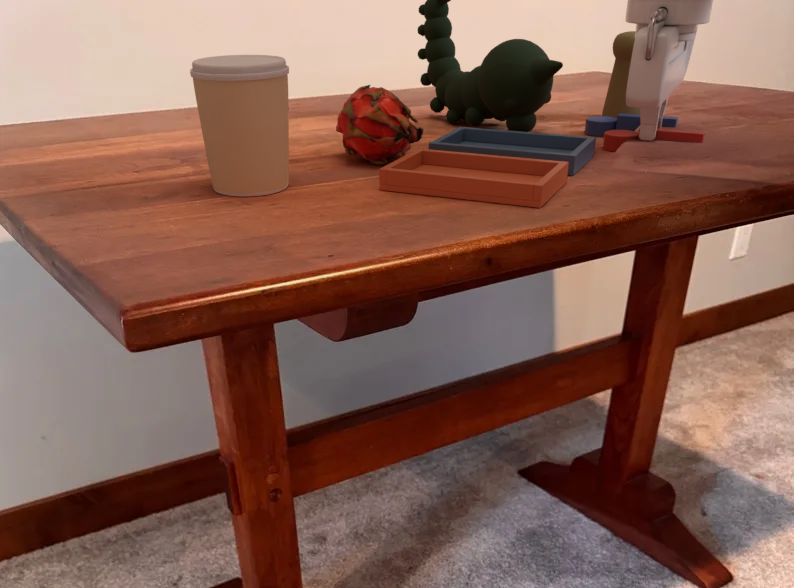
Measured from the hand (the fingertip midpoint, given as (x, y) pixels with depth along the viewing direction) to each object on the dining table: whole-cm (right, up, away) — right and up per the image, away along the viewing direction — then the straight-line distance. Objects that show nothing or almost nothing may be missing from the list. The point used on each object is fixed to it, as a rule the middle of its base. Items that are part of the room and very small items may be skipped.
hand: (649, 136), depth 93 cm
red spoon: (0, -2, +1) cm, 2 cm away
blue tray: (-16, -3, -2) cm, 17 cm away
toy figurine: (-18, +6, +15) cm, 24 cm away
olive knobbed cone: (+2, +9, +19) cm, 21 cm away
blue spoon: (0, +3, +8) cm, 9 cm away
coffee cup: (-45, -9, -12) cm, 47 cm away
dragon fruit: (-32, -3, -2) cm, 32 cm away
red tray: (-22, -9, -12) cm, 27 cm away
